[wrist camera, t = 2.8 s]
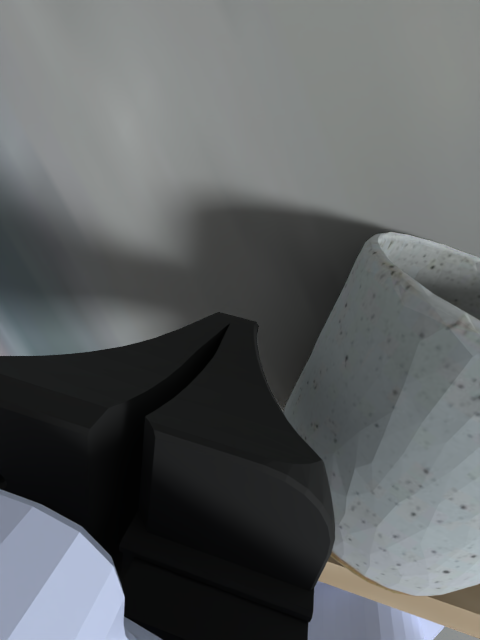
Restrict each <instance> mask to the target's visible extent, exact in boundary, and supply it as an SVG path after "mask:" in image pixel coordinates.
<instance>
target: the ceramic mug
mask: <svg viewBox="0 0 480 640" xmlns="http://www.w3.org/2000/svg"><path fill="white" fill-rule="evenodd" d="M283 414H284V415H285V417H286V418H287V420H288V421H289V423H290V424H291V425H292V427H293V428H294V429H295V431H296V432H297V433H298V434H299V435H300V437H301V438H302V439H303V440H304V441H305V442H306V443H307V444H308V445H309V446H310V447H311V448H312V449H313V450H314V451H315V452H316V453H317V455H318V456H319V457H320V458H321V459H322V460H323V462H324V464H325V468H326V472H327V477H328V481H329V486H330V491H331V497H332V503H333V510H334V518H335V541H334V545H333V549H332V553H331V555H330V556H331V557H332V558H334V559H335V560H336V561H338V562H339V563H340V564H341V565H343V566H344V567H345V568H347V569H348V570H349V571H351V572H352V573H353V574H355V575H357V576H358V577H360V578H362V579H363V580H365V581H367V582H369V583H371V584H373V585H375V586H378V587H380V588H383V589H385V590H387V591H390V592H392V593H397V594H403V595H410V596H417V597H424V596H434V595H443V594H446V593H450V592H453V591H457V590H460V589H464V588H467V587H471V586H474V585H478V584H480V258H479V257H476V256H473V255H471V254H468V253H465V252H462V251H459V250H457V249H454V248H451V247H449V246H447V245H445V244H439V243H436V242H434V241H431V240H426V239H422V238H418V237H415V236H411V235H407V234H400V233H395V232H387V233H381V234H375V235H374V236H372V237H371V238H370V239H368V240H367V241H366V242H365V244H364V246H363V248H362V250H361V252H360V253H359V255H358V257H357V259H356V261H355V263H354V266H353V268H352V270H351V272H350V274H349V277H348V279H347V281H346V283H345V286H344V288H343V290H342V292H341V294H340V296H339V298H338V299H337V301H336V303H335V305H334V307H333V309H332V311H331V313H330V315H329V317H328V319H327V321H326V323H325V325H324V327H323V329H322V331H321V333H320V335H319V337H318V339H317V342H316V344H315V347H314V349H313V351H312V354H311V356H310V358H309V360H308V362H307V364H306V366H305V367H304V369H303V371H302V373H301V375H300V377H299V379H298V381H297V383H296V385H295V387H294V389H293V391H292V393H291V395H290V398H289V400H288V402H287V404H286V406H285V409H284V413H283Z"/></svg>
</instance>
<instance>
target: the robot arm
mask: <svg viewBox="0 0 480 640" xmlns="http://www.w3.org/2000/svg"><path fill="white" fill-rule="evenodd" d="M258 327H259V326H258V324H257V323H256V322H254V321H250V320H247V319H243V318H239V317H235V316H231V315H228V314H224V313H220V312H218V313H215V314H213V315H210V316H208V317H206V318H204V319H202V320H199V321H197V322H195V323H193V324H190V325H188V326H186V327H183V328H181V329H178V330H176V331H173V332H170V333H167V334H165V335H162V336H159V337H156V338H153V339H150V340H146V341H143V342H139V343H135V344H131V345H127V346H122V347H117V348H111V349H105V350H99V351H93V352H85V353H75V354H63V355H48V356H0V640H433V639H434V638H435V637H436V636H437V634H438V633H439V632H440V631H441V630H442V629H443V628H444V627H445V626H443V625H440V624H437V623H434V622H432V621H429V620H426V619H423V618H421V617H418V616H415V615H412V614H409V613H407V612H404V611H401V610H398V609H395V608H393V607H390V606H387V605H384V604H381V603H379V602H376V601H373V600H370V599H368V598H365V597H362V596H359V595H356V594H354V593H351V592H348V591H345V590H342V589H340V588H337V587H334V586H331V585H328V584H326V583H323V582H320V581H318V579H319V577H320V575H321V573H322V571H323V569H324V567H325V565H326V563H327V561H328V559H329V557H330V555H331V553H332V549H333V545H334V541H335V518H334V510H333V503H332V497H331V491H330V486H329V481H328V477H327V472H326V468H325V464H324V462H323V460H322V459H321V458H320V457H319V456H318V455H317V453H316V452H315V451H314V450H313V449H312V448H311V447H310V446H309V445H308V444H307V443H306V442H305V441H304V440H303V439H302V438H301V437H300V435H299V434H298V433H297V432H296V431H295V429H294V428H293V427H292V425H291V424H290V423H289V421H288V420H287V418H286V417H285V415H284V414H283V412H282V411H281V409H280V407H279V406H278V404H277V402H276V400H275V398H274V396H273V394H272V392H271V390H270V388H269V386H268V383H267V381H266V378H265V375H264V372H263V369H262V366H261V362H260V358H259V353H258V347H257V332H258Z"/></svg>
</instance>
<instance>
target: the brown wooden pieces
mask: <svg viewBox="0 0 480 640" xmlns="http://www.w3.org/2000/svg"><path fill="white" fill-rule="evenodd" d="M318 581H320V582H323V583H326V584H328V585H331V586H334V587H337V588H340V589H342V590H345V591H348V592H351V593H354V594H356V595H359V596H362V597H365V598H368V599H370V600H373V601H376V602H379V603H381V604H384V605H387V606H390V607H393V608H395V609H398V610H401V611H404V612H407V613H409V614H412V615H415V616H418V617H421V618H423V619H426V620H429V621H432V622H434V623H437V624H440V625H443V626H446V627H448V628H451V629H454V630H457V631H460V632H462V633H465V634H468V635H471V636H474V637H476V638H479V639H480V584H478V585H474V586H471V587H467V588H464V589H460V590H457V591H453V592H450V593H446V594H443V595H434V596H424V597H417V596H410V595H403V594H397V593H392V592H390V591H387V590H385V589H383V588H380V587H378V586H375V585H373V584H371V583H369V582H367V581H365V580H363V579H362V578H360V577H358V576H357V575H355V574H353V573H352V572H351V571H349V570H348V569H347V568H345V567H344V566H343V565H341V564H340V563H339V562H338V561H336V560H335V559H334V558H332V557H331V556H330V557H329V559H328V561H327V563H326V565H325V567H324V569H323V571H322V573H321V575H320V577H319V579H318Z"/></svg>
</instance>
